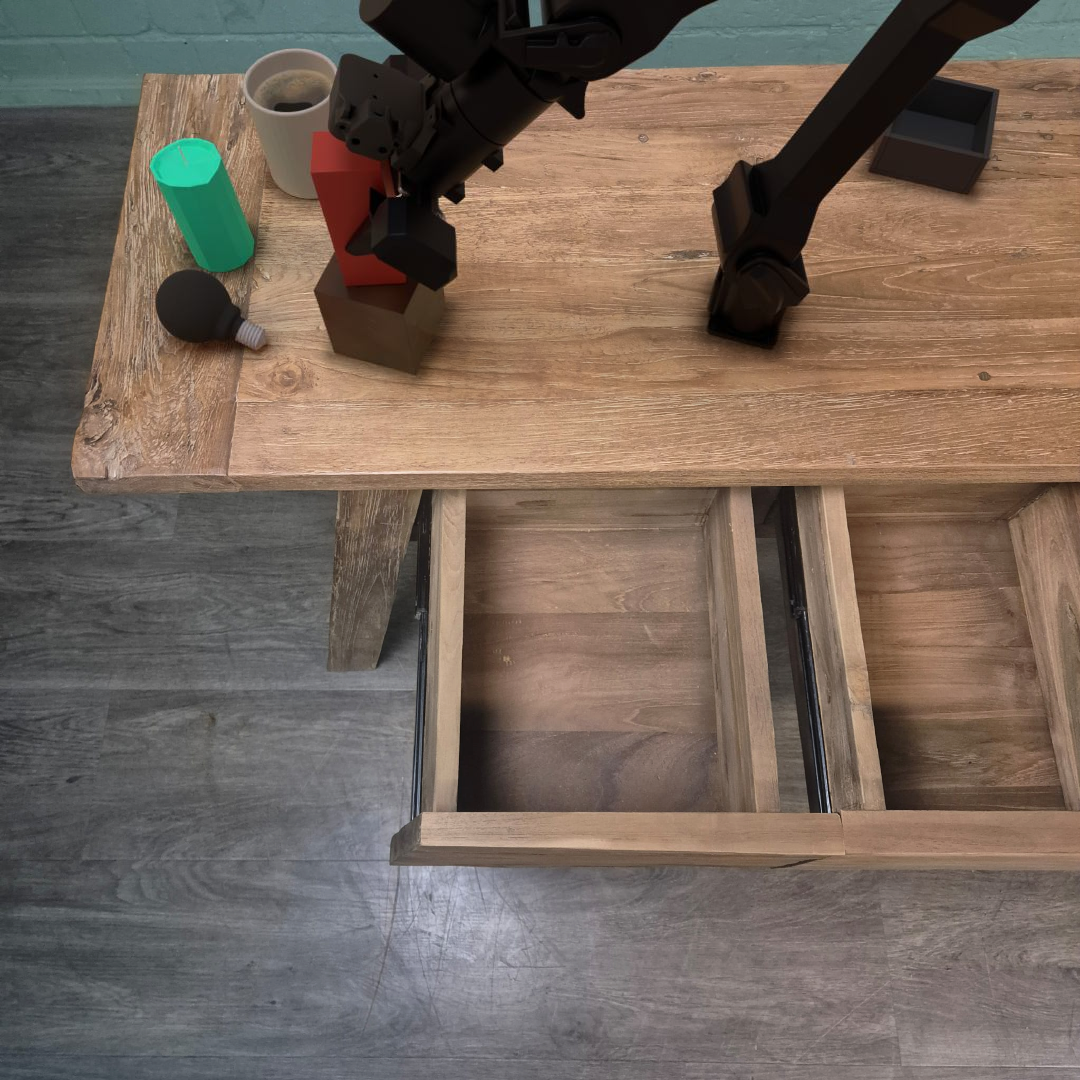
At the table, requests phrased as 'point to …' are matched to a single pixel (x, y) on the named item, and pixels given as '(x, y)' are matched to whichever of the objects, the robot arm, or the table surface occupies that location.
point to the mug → (290, 112)
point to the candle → (204, 203)
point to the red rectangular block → (350, 204)
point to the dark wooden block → (379, 319)
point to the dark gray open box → (940, 136)
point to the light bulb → (203, 311)
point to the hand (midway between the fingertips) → (350, 231)
